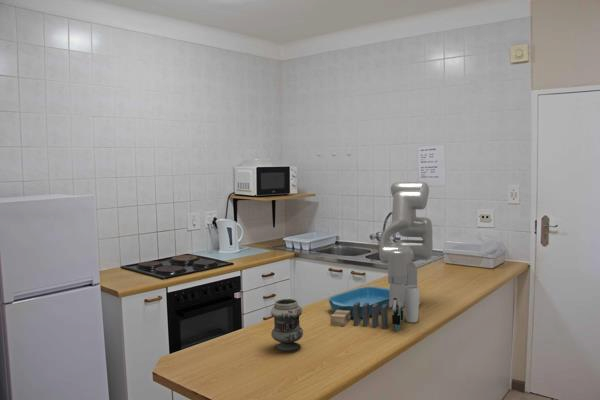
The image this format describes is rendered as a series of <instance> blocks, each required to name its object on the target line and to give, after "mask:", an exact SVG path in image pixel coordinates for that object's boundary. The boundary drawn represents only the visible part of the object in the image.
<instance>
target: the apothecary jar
mask: <svg viewBox="0 0 600 400" xmlns="http://www.w3.org/2000/svg"><path fill="white" fill-rule="evenodd" d="M270 314H271V316H272V317H273V318H274V319H273V320H274V322H273V323H274V324H273V325H274V326H273V327H274V328H273V329H272V331H271V332H270V333H271V335H270V336H271V338H272V339H273V340H275V341H276V342H279V343H277V344H275V346H274V350H275V351H276V352H279V353H282V354H283V353H284V354H285V353H286V354H287V353H288V354H290V353H294V352H298V351H299V350H301V348H302V347H301V344H300V343H298V342H297V341H299V340H300V339H301V338H303V336H304V330H303V328H302V327H301V326H300V316H301V315H302V314H303V308H302V307H301V306H300V305H299V303H298V300H297V299H294V298H280V299H277V300H275V301H274V306H273V307H272V308H271V309H270Z"/></svg>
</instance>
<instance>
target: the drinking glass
mask: <svg viewBox="0 0 600 400" xmlns="http://www.w3.org/2000/svg"><path fill="white" fill-rule="evenodd" d="M420 291H421V290H420V287H419V286H418V285H417V286H414V285H407V286H404V305H405V307H404V314H405V316H404V318H405V319H404V320H405V321H406V322H408V323H418V322H419V308H420V306H419V301H420V293H421V292H420Z"/></svg>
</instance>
